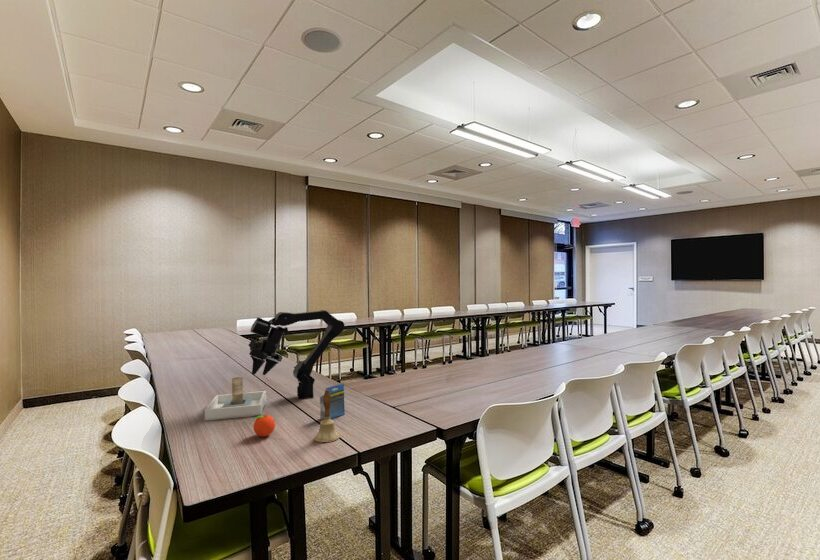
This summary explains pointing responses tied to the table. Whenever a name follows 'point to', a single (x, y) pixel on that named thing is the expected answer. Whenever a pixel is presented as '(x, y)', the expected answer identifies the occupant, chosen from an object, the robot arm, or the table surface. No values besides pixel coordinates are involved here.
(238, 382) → the peg
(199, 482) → the table surface
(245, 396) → the tray
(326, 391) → the hand bell
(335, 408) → the label tape cartridge
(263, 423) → the clementine
